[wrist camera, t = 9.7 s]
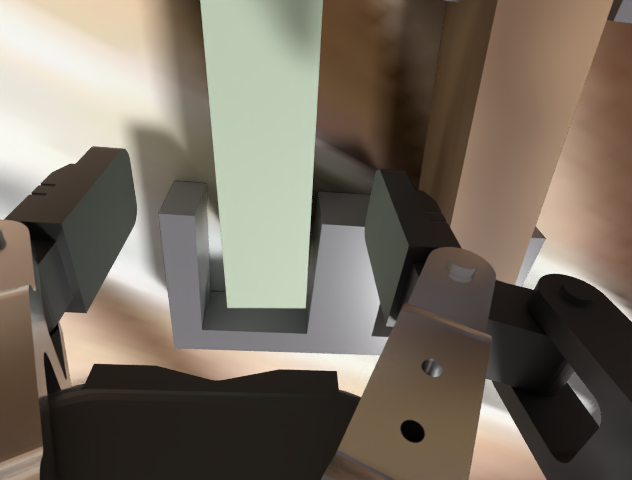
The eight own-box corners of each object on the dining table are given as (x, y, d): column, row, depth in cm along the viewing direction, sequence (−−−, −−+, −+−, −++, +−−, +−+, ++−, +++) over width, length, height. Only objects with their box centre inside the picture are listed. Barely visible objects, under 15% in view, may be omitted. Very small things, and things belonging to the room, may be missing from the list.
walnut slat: (559, -112, 15) (658, -131, 11) (468, 251, 24) (504, 315, 20) (461, -112, 15) (525, -130, 11) (407, 253, 24) (431, 318, 20)
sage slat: (320, -146, 14) (332, -180, 10) (303, 244, 23) (305, 308, 19) (214, -155, 14) (183, -193, 10) (238, 242, 23) (227, 307, 19)
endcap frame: (745, -315, 12) (857, -377, 10) (467, 320, 27) (485, 358, 25) (116, -449, 11) (64, -565, 8) (185, 308, 25) (174, 348, 23)
